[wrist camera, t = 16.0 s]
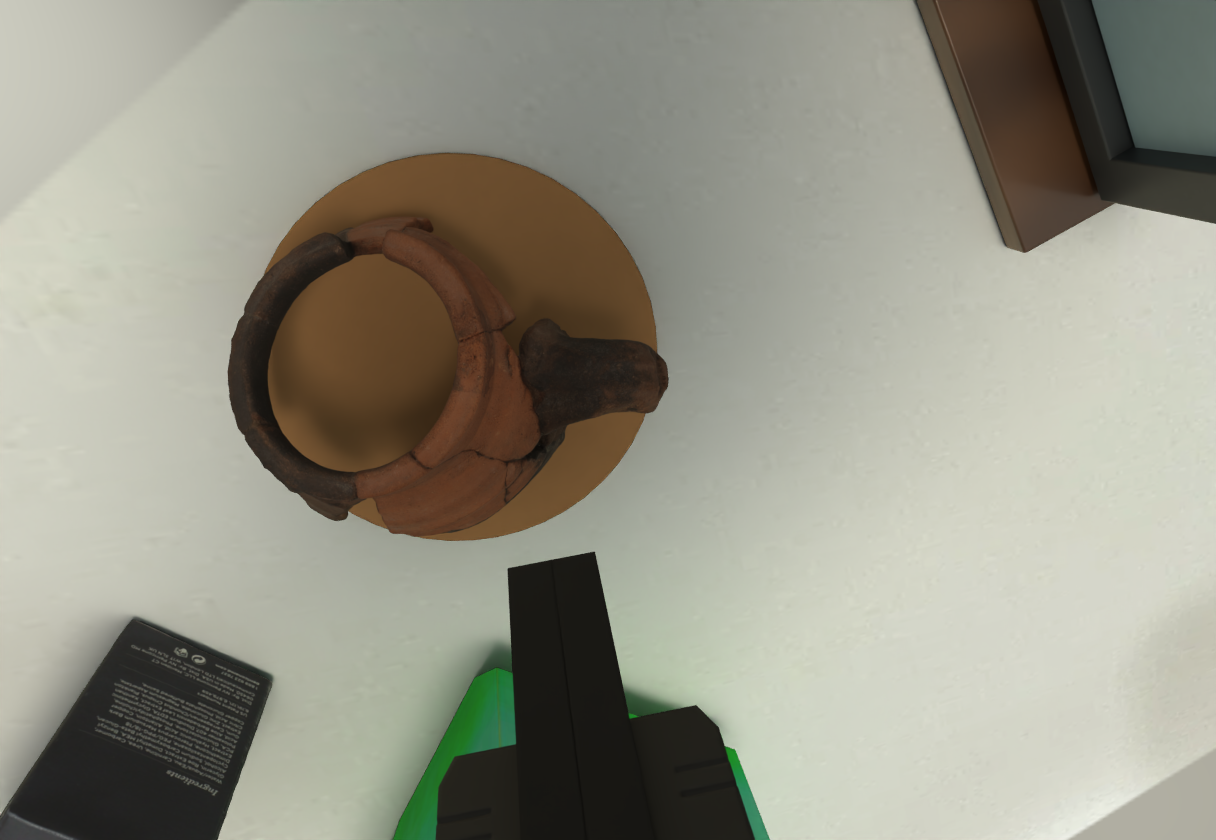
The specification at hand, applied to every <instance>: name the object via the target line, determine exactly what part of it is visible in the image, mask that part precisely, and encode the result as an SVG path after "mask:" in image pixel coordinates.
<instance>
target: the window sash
mask: <svg viewBox="0 0 1216 840" xmlns="http://www.w3.org/2000/svg"><path fill="white" fill-rule="evenodd" d="M1038 3H1039V6H1040V10H1041V13H1042V16H1043V19H1044V22H1045V25H1046V28H1047V31H1048V35H1049V38H1050V41H1051V44H1052V47H1053V50H1054V53H1055V57H1056V60H1057V63H1058V66H1059V69H1060V72H1061V75H1062V79H1063V82H1064V85H1065V88H1066V91H1067V94H1068V97H1069V101H1070V104H1071V107H1072V110H1073V113H1074V116H1075V119H1076V123H1077V126H1078V129H1079V132H1080V135H1081V138H1082V141H1083V145H1084V148H1085V151H1086V154H1087V157H1088V160H1089V164H1090V167H1091V170H1092V173H1093V176H1094V179H1095V182H1096V186H1097V189H1098V192H1099V195H1100V198H1101V200H1102V201H1107V202H1112V203H1117V204H1122V205H1127V206H1132V207H1137V208H1141V209H1146V210H1151V211H1156V212H1161V213H1166V214H1171V215H1176V216H1180V217H1185V218H1190V219H1195V220H1200V221H1205V222H1210V223H1215V224H1216V0H1038Z"/></svg>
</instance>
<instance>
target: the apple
mask: <svg viewBox="0 0 1216 840" xmlns="http://www.w3.org/2000/svg"><path fill="white" fill-rule="evenodd" d="M636 717H639V716H636V715H633V714H630V713H629V718H630V719H631V718H636ZM514 744H516V733H515V712H514V692H513V673H511V672H508V671H506V670H503V669H500V668H495V669H492V670H490V671H488V672H486V673H484V674H482V675H479V676H477V677H475V678H474V680H473V682H472V684H471V686H470V688H469V689H468V691H467V693H466V695H465V697H464V699H463V701H462V703H461V705H460V707H459V708H458V710H457V712H456V714H455V716H454V718H453V720H452V722H451V724H450V726H449V727H448V729H447V731H446V733H445V735H444V737H443V739H442V741H441V743H440V745H439V746H438V748H437V750H436V752H435V754H434V756H433V758H432V760H431V762H430V764H429V765H428V767H427V769H426V771H425V773H424V775H423V777H422V779H421V781H420V783H419V784H418V786H417V788H416V790H415V792H414V794H413V796H412V798H411V800H410V802H409V803H408V805H407V807H406V809H405V811H404V813H403V815H402V817H401V819H400V821H399V824H398V827H397V830H396V833H395V836H394V840H436V825H437V803H438V787H439V785H440V783H441V781H442V779H443V777H444V775H445V773H446V772H447V770H448V768H449V766H450V764H451V762H452V760H453V758H454V757H455V756H460V755H465V754H470V753H475V752H479V751H484V750H489V749H494V748H499V747H504V746H509V745H514ZM725 749H726V752H727V755H728V759H729V762H730V764H731V767H732V770H733V773H734V776H735V779H736V784H737V786H738V788H739V791H740V794H741V797H742V801H743V804H744V807H745V810H746V813H747V816H748V819H749V822H750V825H751V828H752V831H753V834H754V837H755V840H770V839H769V836H768V834H767V831H766V829H765V826H764V823H763V821H762V818H761V816H760V813H759V810H758V808H757V805H756V803H755V800H754V798H753V795H752V792H751V790H750V787H749V785H748V782H747V779H746V777H745V774H744V772H743V769H742V766H741V764H740V761H739V759H738V756H737V754H736V751H735V750H734V749H732V748H729V747H726V746H725Z"/></svg>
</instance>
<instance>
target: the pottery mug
mask: <svg viewBox="0 0 1216 840" xmlns="http://www.w3.org/2000/svg"><path fill="white" fill-rule="evenodd" d="M433 230H434V229H433V225H432V223H431V221H430V220H429V219H427V218H422V217H389V218H382V219H377V220H372V221H369V222H365V223H362V224H361V225H359V226H357V227H356V228H352V227H350V228H346V229H344V230H342V231H340V232H338V233H337V234H335V235H334V234H332V233H326V232H324V233H321V234H318V235H316V236H314V237H312V238H311V239H309V240H307V241H305V242H303V243H302V244H300V245H298V246H297V247H295V248H294V249H292V250H291V252H290V253H289V254H287V255H286V256H285V257H284V258H282V259H281V260H279V261H278V262H277V263H275V264H274V265H273V266H272V267H271V268H270V270H269V271H268V272H267V273H266V274H265V275H264V276H263V278H262V279H261V280H260V281H259V282H258V283H257V285H256V287H255V289H254V290H253V292H252V294H251V296H250V298H249V300H248V301H247V303H246V305H245V309H244V311H245V313H244V315H243V316H242V317H241V318H240V320H239V321H238V324H237V328H236V331H235V333H234V335H233V338H232V340H231V342H232V343H231V354H230V359H229V366H228V385H229V392H230V394H229V397H230V401H231V406H232V410H233V413H234V415H235V419H236V423H237V426H238V429H239V430H240V431H241V433H242V434H244V435H245V440H246V442H247V443H248V445H249V447H250V448H251V449H252V450H253V452H254V454H255V455H256V456H257V457H258V458H259V459H260V461H261V463H262V464H263V466H264V468H266V469H267V470H269V471H270V472H271V473H272V474H273V475H274V476H275V477H276V478H277V479H278V480H279V481H281V482H282V483H283V484H284V485H285V486H286V487H287V488H288V489H289V490H290V491H291V492H294V493H298V494H299V495H300V496H301V497H302V498H303V499H304V500H305V501H306V503H307V504H308V506H309V507H310V508H311V509H313V510H315V511H317V512H318V513H320V514H322V515H323V516H325V517H327V518H329V519H331V520H334V521H340V520H344V519H346V518H347V516H348V511H349V510H350V509H351V508H352V507H353V506H354V505H356V504H358V503H360V502H361V501H364V500H366V499H367V498H373V499H374V501H375V502H376V507H377V510H378V513H379V514H380V515H381V516H382V520H383V522H384V523H385V525H386V526H387V528H388V530H389V531H390V532H391V533H393V534H406V535H410V536H413V537H421V536H430V535H436V534H442V533H453V532H458V531H461V530H464V529H467V528H470V527H472V526H474V525H477V524H479V523H481V522H483V521H485V520H487V519H488V518H490V517H491V516H493V515H494V514H495V513H497V512H498V511H499V510H501V509H502V508H503V507H504V506H506V505H507V504H508V503H509V502H510V501H511V500H512V499H514V498H515V497H516V496H517V495H518V494H519V493H520V492H521V491H522V490H523V489H524V488H525V487H526V486H527V485H528V484H529V483H530V481H531V480H532V479H533V478H534V477H535V476H536V475H537V474H538V473H539V472H540V471H541V470H542V468H543V467H544V466H545V464H546V463H547V462H548V461H549V459H550V458H551V457H552V455H553V453H554V452H555V451H556V449H557V448H558V447H559V446H560V445H561V444H562V442H563V441H564V439H565V430H566V427H567V426H568V425H569V424H573V423H576V422H580V421H583V420H587V419H592V418H596V417H599V416H602V415H605V414H609V413H615V412H637V413H644V414H645V413H650V412H653V411H654V410H655V409H656V408H657V406H658V403H659V401H660V399H661V397H662V396H663V393H664V392H665V390H666V389H667V387H668V380H669V378H668V369H667V365H666V362H665V361H664V360H663V359H662V358H661V357H660V356H659V355H658V354H657V353H656V352H655V351H654V350H653V349H652V348H651V347H650V346H649V345H647V344H645V343H642V342H639V341H633V340H622V339H597V338H573V337H570V336H569V335H568V334H567V333H566V331H565V330H561V329H560V326H559V325H558V324H556V323H554V322H553V321H552V320H551V319H548V318H543V319H540V320H538V321H537V322H535V323H534V324H533V325H532V326H530V327H529V328H528V329H527V330H526V331H525V332H524V334H523V336H522V339H521V341H520V343H519V355H518V356H517V355H516V354H515V352H514V349H513V348H512V347H511V346H510V345H508V343H507V341H506V340H505V338H504V336H503V334H502V331H503V329H505V328H506V327H507V326H509V325H510V324H512V323H513V321H515V320H516V315H515V313H514V311H513V309H512V308H511V306H510V304H509V303H508V302H507V301H506V300H505V298H504V297H503V295H502V294H501V293H500V292H499V290H498V289H497V288H496V287H495V286H494V285H493V284H492V283H491V281H490V280H489V278H488V277H487V276H486V274H485V273H484V272H483V271H482V270H481V269H480V268H479V267H478V266H477V265H475V264H474V263H473V262H472V261H470V260H469V259H468V258H467V257H466V256H465V255H463V254H462V253H461V252H459V251H458V250H457V249H456V248H455V247H454V246H452V245H451V244H450V243H449V242H447V241H445V240H444V239H442V238H440V237H438V236H436V235H434V234H432V233H431V232H433ZM372 254H384V256H385V257H386V258H387V259H388V260H390V261H392V262H395V263H397V264H399V265H402V266H404V267H406V268H409V269H410V270H412V271H414V272H415V273H416V274H418V275H419V276H421V277H422V278H423V279H424V280H426V281H427V282H428V283H429V284H430V286H431V287H432V288H433V289H434V291H435V292H436V293H437V295H438V296H439V298H440V299H441V301H442V302H443V304H444V306H445V308H446V310H447V313H448V315H449V318H450V321H451V323H452V327H453V330H454V333H455V337H456V340H457V342H458V348H457V367H456V373H455V377H454V382H453V387H452V390H451V393H450V396H449V398H448V401H447V403H446V405H445V408H444V410H443V412H442V414H441V415H440V417H439V419H438V420H437V422H436V423H435V425H434V426H433V428H432V429H431V431H430V432H429V433H428V434H427V435H426V436H425V438H424V439H423V440H422V441H420V442H419V443H418V444H417V445H416V446H415V447H414V448H413V449H412V450H411V451H409V452H407V453H406V454H404V455H402V456H401V457H399V458H398V459H396V460H394V461H392V462H390V463H388V464H385V465H383V466H380V467H376V468H371V469H366V470H361V471H357V472H345V471H337V470H333V469H329V468H326V467H323V466H321V465H319V464H317V463H315V462H314V461H312V460H310V459H308V458H307V457H305V456H304V455H303V454H302V453H301V452H299V451H298V450H297V449H296V448H295V447H294V446H293V445H292V444H291V443H290V441H289V440H288V439H287V437H286V436H285V435H284V434H283V432H282V430H281V429H280V426H279V424H278V422H277V420H276V418H275V415H274V413H273V409H272V404H271V401H270V395H269V388H268V368H269V359H270V354H271V349H272V346H273V343H274V340H275V337H276V333H277V331H278V329H279V327H280V324H281V322H282V320H283V319H284V317H285V315H286V313H287V311H288V310H289V308H290V307H291V305H292V303H293V302H294V301H295V299H296V298H297V297H298V296H299V295H300V294H301V292H302V291H303V290H304V289H306V288H307V286H308V285H309V284H310V283H312V282H313V281H315V280H316V279H317V278H319V277H320V276H322V275H324V274H325V273H327V272H328V271H330V270H332V269H334V268H336V267H338V266H340V265H342V264H345V263H347V262H349V261H351V260H352V259H353V258H354V257H356V256H361V255H372Z"/></svg>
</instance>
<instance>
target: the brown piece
mask: <svg viewBox="0 0 1216 840" xmlns="http://www.w3.org/2000/svg"><path fill="white" fill-rule="evenodd" d="M916 1H917V4H918V6H919V9H920V12H921V15H922V17H923V20H924V23H925V25H926V28H927V31H928V34H929V36H930V39H931V42H932V45H933V47H934V50H935V53H936V55H937V58H938V61H939V64H940V66H941V69H942V72H943V74H944V77H945V80H946V83H947V85H948V88H949V91H950V94H951V96H952V99H953V102H954V104H955V107H956V110H957V113H958V115H959V118H960V121H961V124H962V126H963V129H964V132H965V134H966V137H967V140H968V143H969V145H970V148H971V151H972V154H973V156H974V159H975V162H976V164H977V167H978V170H979V173H980V175H981V178H982V181H983V184H984V186H985V189H986V192H987V194H988V197H989V200H990V203H991V205H992V208H993V211H994V214H995V216H996V219H997V222H998V224H999V227H1000V230H1001V233H1002V235H1003V238H1004V241H1005V244H1006V246H1007V247H1008V248H1011V249H1014V250H1017V251H1020V252H1023V253H1026V252H1028V251H1030V250H1032V249H1033V248H1035V247H1037V246H1039V245H1041V244H1043V243H1044V242H1046V241H1048V240H1050V239H1052V238H1053V237H1055V236H1057V235H1059V234H1061V233H1062V232H1064V231H1066V230H1068V229H1070V228H1071V227H1073V226H1075V225H1077V224H1079V223H1080V222H1082V221H1084V220H1086V219H1088V218H1089V217H1091V216H1093V215H1095V214H1097V213H1098V212H1100V211H1102V210H1104V209H1106V208H1107V207H1109V206H1111V205H1113V204H1115V203H1112V202H1107V201H1102V200H1101V198H1100V195H1099V192H1098V189H1097V186H1096V182H1095V179H1094V176H1093V173H1092V170H1091V167H1090V164H1089V160H1088V157H1087V154H1086V151H1085V148H1084V145H1083V141H1082V138H1081V135H1080V132H1079V129H1078V126H1077V123H1076V119H1075V116H1074V113H1073V110H1072V107H1071V104H1070V101H1069V97H1068V94H1067V91H1066V88H1065V85H1064V82H1063V79H1062V75H1061V72H1060V69H1059V66H1058V63H1057V60H1056V57H1055V53H1054V50H1053V47H1052V44H1051V41H1050V38H1049V35H1048V31H1047V28H1046V25H1045V22H1044V19H1043V16H1042V13H1041V10H1040V6H1039V3H1038V0H916Z"/></svg>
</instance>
